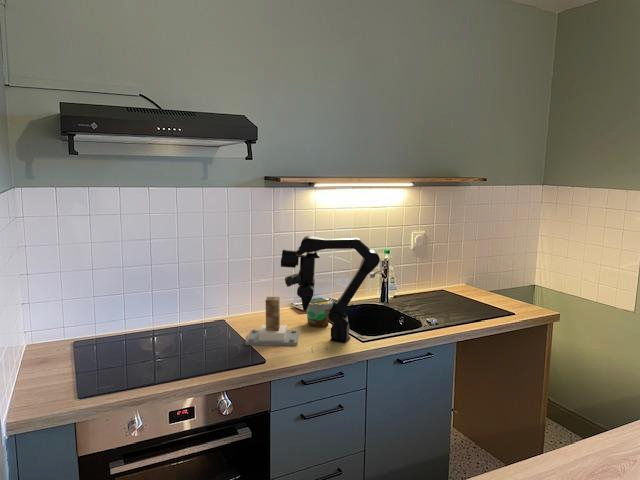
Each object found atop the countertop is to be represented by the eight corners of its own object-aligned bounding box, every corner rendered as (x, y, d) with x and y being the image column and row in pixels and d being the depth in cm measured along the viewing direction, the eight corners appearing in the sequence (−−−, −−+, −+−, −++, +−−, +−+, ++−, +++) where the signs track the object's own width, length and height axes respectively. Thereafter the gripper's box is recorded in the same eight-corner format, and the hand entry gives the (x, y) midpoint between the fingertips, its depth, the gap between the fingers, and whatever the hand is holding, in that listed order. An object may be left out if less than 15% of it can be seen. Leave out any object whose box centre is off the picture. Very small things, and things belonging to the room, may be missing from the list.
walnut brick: (279, 326, 201) (279, 296, 199) (278, 331, 196) (278, 300, 194) (267, 326, 201) (267, 296, 199) (266, 330, 196) (265, 300, 194)
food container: (299, 325, 216) (299, 303, 214) (306, 321, 221) (306, 299, 220) (324, 329, 210) (324, 306, 208) (331, 325, 215) (331, 303, 214)
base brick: (299, 333, 206) (299, 323, 205) (297, 345, 192) (297, 335, 191) (250, 332, 206) (250, 323, 205) (245, 345, 192) (245, 334, 191)
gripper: (288, 262, 204) (286, 299, 206) (284, 272, 185) (282, 312, 188) (315, 264, 204) (313, 301, 206) (314, 274, 185) (312, 314, 188)
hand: (305, 307), depth 197 cm, fingers open, 9 cm apart
